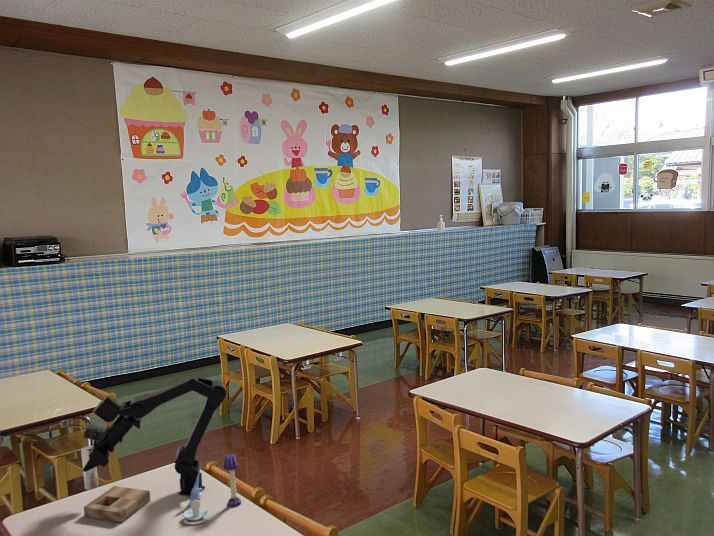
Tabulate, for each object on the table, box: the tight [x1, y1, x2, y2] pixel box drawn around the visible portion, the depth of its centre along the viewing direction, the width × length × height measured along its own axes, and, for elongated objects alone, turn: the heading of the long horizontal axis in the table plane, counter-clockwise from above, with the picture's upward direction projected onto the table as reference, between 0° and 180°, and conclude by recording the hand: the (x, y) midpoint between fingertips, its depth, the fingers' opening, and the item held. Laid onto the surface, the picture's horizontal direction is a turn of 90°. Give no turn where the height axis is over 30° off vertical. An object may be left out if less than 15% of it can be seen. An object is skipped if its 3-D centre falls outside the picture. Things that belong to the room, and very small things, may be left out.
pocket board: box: [83, 485, 151, 524], centre depth 191 cm, size 14×14×4 cm
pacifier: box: [183, 499, 208, 526], centre depth 182 cm, size 7×6×6 cm
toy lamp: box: [223, 452, 242, 508], centre depth 191 cm, size 5×5×17 cm
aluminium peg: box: [80, 445, 99, 491], centre depth 191 cm, size 4×4×13 cm
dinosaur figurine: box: [179, 462, 203, 511], centre depth 193 cm, size 3×15×10 cm
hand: (85, 468), depth 191 cm, fingers closed on aluminium peg, 4 cm apart
